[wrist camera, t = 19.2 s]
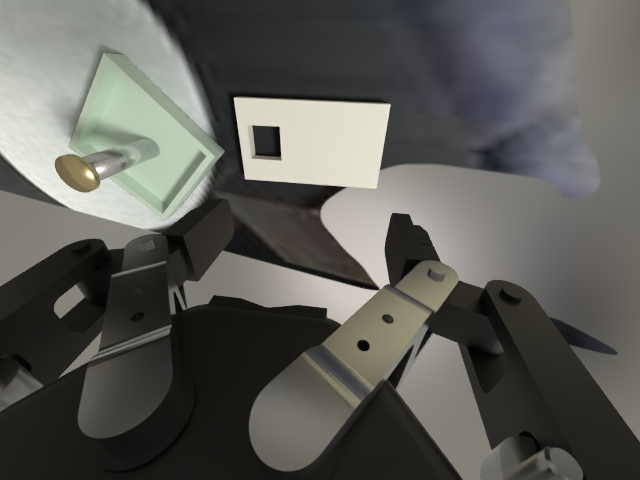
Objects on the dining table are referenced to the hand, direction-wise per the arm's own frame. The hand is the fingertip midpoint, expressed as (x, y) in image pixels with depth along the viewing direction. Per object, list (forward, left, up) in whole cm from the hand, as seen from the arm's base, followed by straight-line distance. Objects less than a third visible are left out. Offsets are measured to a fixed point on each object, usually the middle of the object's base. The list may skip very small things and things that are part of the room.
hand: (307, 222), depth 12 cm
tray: (-19, -26, -30) cm, 44 cm away
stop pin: (-19, -26, -29) cm, 43 cm away
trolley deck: (-1, -5, -30) cm, 31 cm away
